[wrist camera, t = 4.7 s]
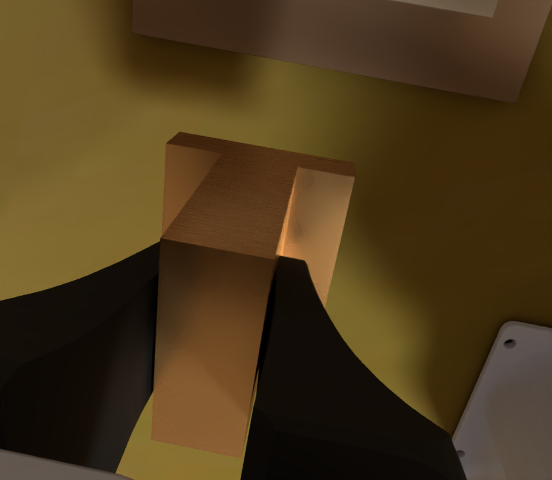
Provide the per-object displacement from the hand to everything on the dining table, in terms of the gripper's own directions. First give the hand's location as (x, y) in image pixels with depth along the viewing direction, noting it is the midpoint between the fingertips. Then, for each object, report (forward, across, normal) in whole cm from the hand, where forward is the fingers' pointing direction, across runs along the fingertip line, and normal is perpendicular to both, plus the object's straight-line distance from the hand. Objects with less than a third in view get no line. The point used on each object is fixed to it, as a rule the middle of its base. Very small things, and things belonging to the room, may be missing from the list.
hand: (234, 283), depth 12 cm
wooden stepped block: (+3, 0, 0) cm, 3 cm away
